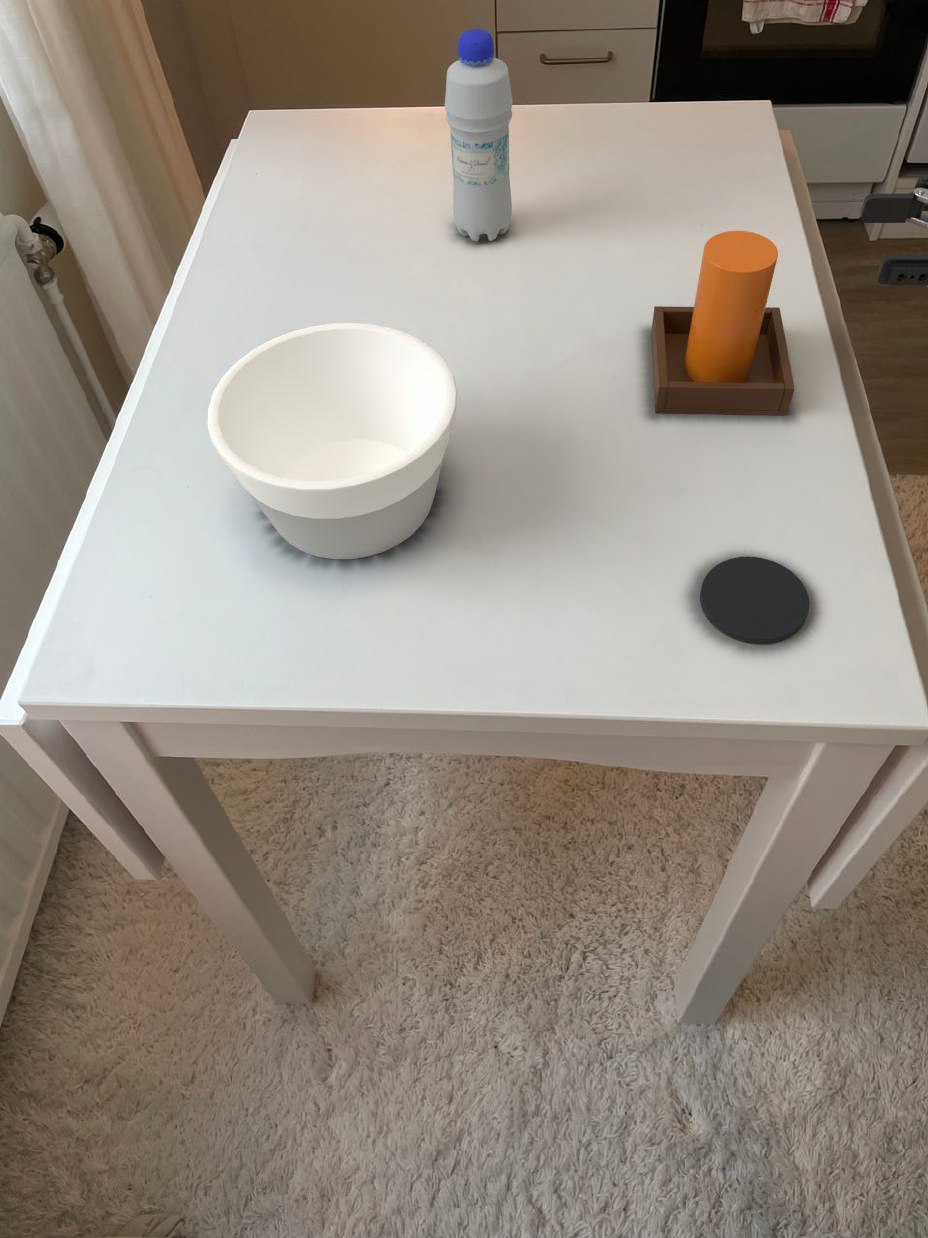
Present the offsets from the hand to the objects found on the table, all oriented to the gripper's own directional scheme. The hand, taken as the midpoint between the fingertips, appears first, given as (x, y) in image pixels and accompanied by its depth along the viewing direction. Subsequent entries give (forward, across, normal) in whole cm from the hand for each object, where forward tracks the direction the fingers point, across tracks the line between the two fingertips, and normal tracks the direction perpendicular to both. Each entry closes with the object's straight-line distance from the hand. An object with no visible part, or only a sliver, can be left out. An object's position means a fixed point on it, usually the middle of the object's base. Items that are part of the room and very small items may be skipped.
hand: (871, 237), depth 77 cm
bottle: (+34, -23, +14) cm, 43 cm away
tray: (+10, 0, +14) cm, 17 cm away
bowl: (+42, +17, +14) cm, 47 cm away
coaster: (+9, +27, +13) cm, 32 cm away
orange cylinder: (+10, 0, +13) cm, 17 cm away
